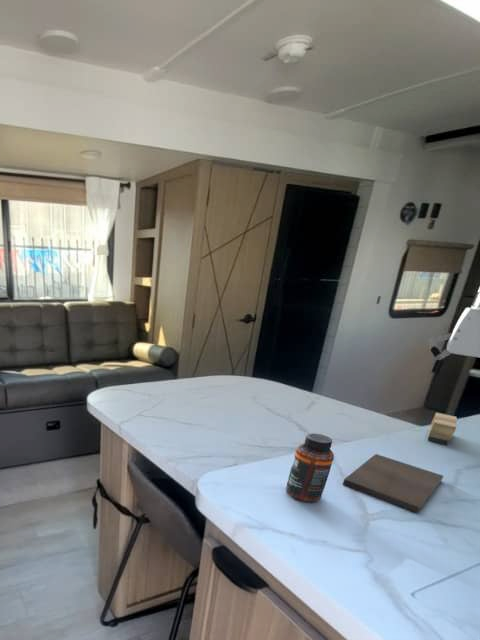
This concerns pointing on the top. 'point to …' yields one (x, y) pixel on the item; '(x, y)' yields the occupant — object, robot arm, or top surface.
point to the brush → (442, 428)
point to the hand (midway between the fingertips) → (460, 380)
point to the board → (394, 482)
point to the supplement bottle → (310, 468)
